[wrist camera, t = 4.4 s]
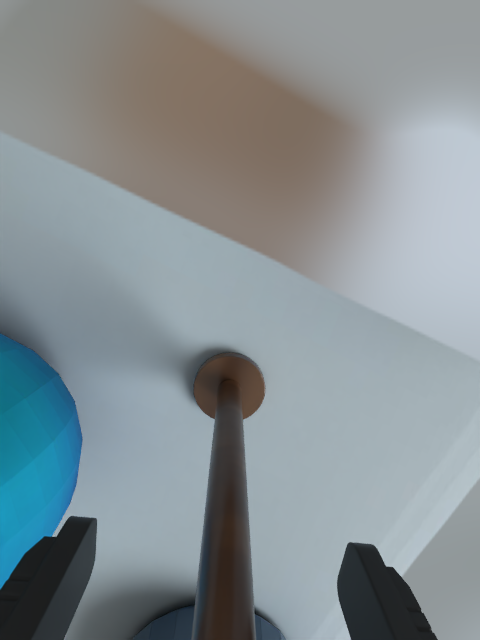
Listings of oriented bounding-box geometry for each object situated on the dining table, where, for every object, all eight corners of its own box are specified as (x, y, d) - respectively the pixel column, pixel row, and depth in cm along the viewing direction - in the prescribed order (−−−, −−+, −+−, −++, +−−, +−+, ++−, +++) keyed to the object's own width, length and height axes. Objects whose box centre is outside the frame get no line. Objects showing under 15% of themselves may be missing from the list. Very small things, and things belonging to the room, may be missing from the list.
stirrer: (269, 357, 20) (357, 605, 6) (258, 419, 22) (309, 755, 7) (199, 348, 20) (115, 584, 6) (191, 412, 21) (105, 744, 7)
